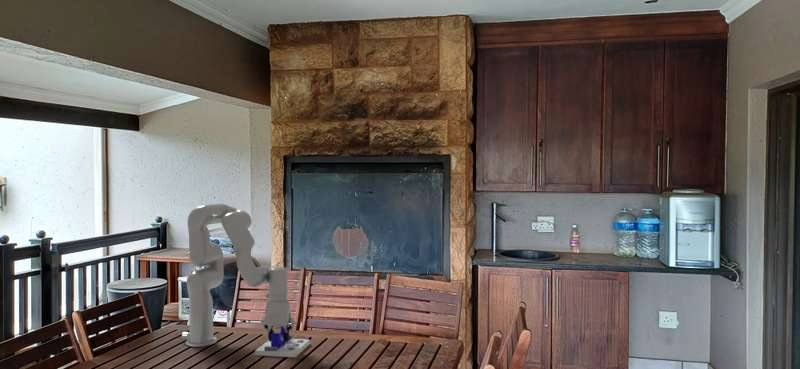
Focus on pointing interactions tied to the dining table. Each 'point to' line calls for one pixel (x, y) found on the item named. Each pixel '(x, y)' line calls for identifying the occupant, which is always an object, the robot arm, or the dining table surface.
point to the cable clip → (278, 339)
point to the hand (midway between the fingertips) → (278, 340)
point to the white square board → (283, 348)
